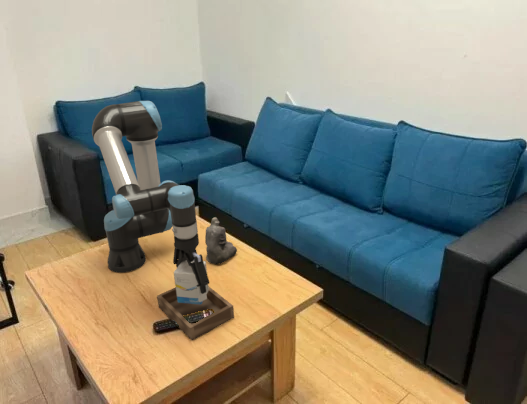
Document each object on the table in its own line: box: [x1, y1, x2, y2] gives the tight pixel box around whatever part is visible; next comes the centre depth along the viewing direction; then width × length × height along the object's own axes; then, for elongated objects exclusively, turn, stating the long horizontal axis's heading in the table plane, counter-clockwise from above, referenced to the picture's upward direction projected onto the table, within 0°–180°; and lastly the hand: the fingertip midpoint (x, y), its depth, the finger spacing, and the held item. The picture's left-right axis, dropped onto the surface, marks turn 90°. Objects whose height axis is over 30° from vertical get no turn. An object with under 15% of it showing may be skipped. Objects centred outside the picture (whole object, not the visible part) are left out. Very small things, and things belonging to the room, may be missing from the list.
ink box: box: [173, 260, 210, 304], centre depth 143 cm, size 9×8×12 cm
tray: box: [156, 286, 235, 342], centre depth 147 cm, size 22×16×5 cm
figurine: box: [204, 216, 238, 265], centre depth 176 cm, size 13×12×18 cm
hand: (193, 291), depth 144 cm, fingers closed on ink box, 11 cm apart
